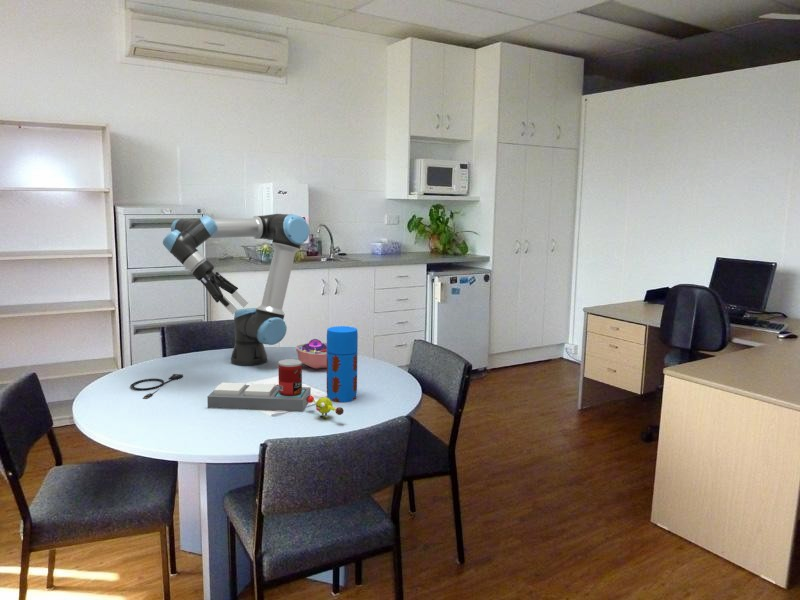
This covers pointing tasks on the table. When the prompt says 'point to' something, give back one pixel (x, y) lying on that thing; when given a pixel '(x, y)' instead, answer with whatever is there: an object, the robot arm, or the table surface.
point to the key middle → (260, 390)
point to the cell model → (313, 354)
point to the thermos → (342, 363)
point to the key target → (291, 396)
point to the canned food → (290, 377)
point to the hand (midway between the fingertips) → (241, 308)
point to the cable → (173, 377)
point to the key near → (230, 389)
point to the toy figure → (324, 406)
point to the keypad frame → (259, 401)
